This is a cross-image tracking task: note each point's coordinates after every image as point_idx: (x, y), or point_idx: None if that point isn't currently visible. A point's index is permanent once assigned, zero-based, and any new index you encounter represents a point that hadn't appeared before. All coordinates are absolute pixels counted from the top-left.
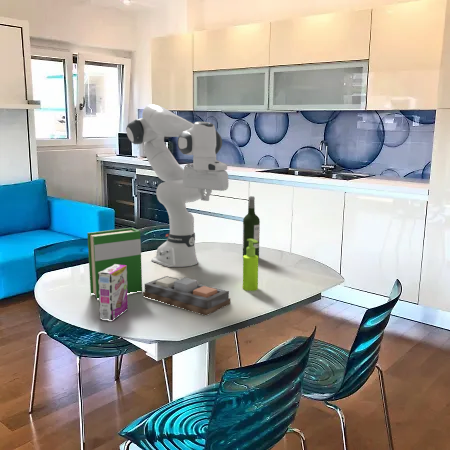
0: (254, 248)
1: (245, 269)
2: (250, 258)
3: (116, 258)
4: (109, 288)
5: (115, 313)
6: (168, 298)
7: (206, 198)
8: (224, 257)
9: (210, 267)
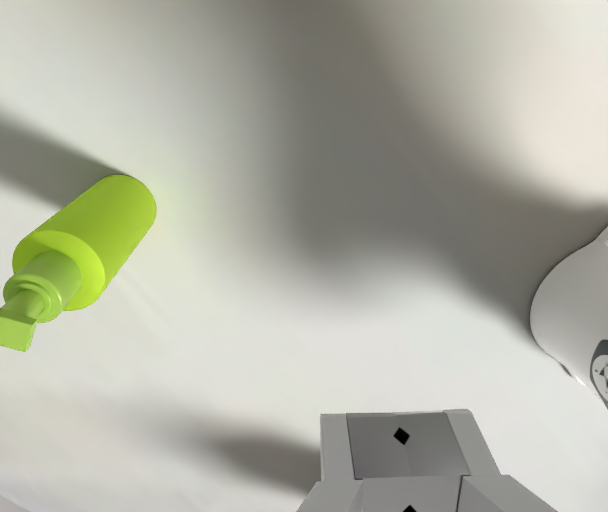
0: (5, 299)
1: (83, 206)
2: (25, 237)
3: None
4: None
5: None
6: None
7: (322, 444)
8: None
9: (448, 325)
